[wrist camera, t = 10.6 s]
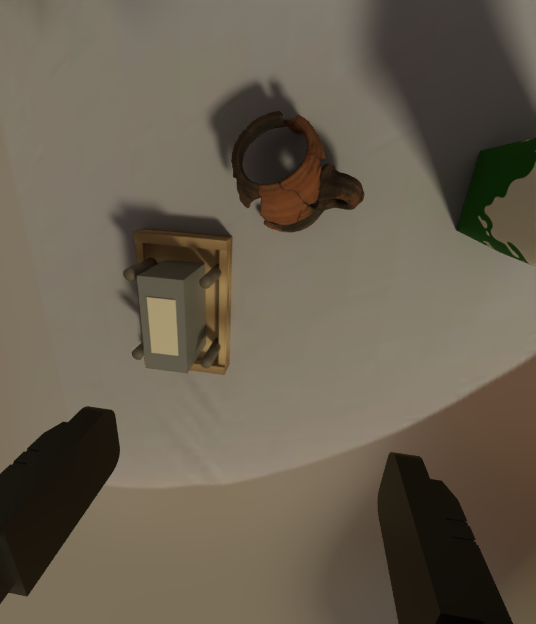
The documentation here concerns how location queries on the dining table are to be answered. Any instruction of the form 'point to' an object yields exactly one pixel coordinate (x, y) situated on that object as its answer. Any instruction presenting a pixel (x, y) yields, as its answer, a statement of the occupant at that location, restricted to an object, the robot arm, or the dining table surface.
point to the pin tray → (215, 281)
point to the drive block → (172, 314)
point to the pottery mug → (295, 180)
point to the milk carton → (504, 201)
